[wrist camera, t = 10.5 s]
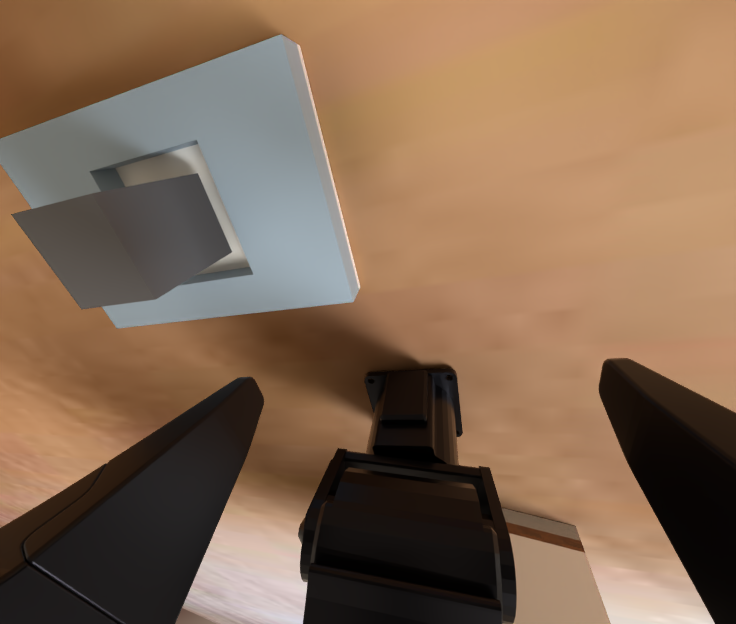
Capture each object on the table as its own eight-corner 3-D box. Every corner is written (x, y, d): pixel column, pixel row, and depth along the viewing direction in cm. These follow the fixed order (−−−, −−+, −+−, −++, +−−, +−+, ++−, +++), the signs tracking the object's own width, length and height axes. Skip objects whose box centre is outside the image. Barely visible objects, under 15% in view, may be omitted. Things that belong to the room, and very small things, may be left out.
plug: (239, 247, 19) (155, 299, 13) (181, 257, 20) (81, 309, 14) (207, 171, 17) (91, 193, 11) (144, 186, 18) (11, 214, 12)
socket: (360, 286, 19) (353, 302, 18) (139, 314, 24) (117, 328, 22) (299, 45, 14) (281, 34, 12) (27, 142, 18) (-14, 143, 17)
